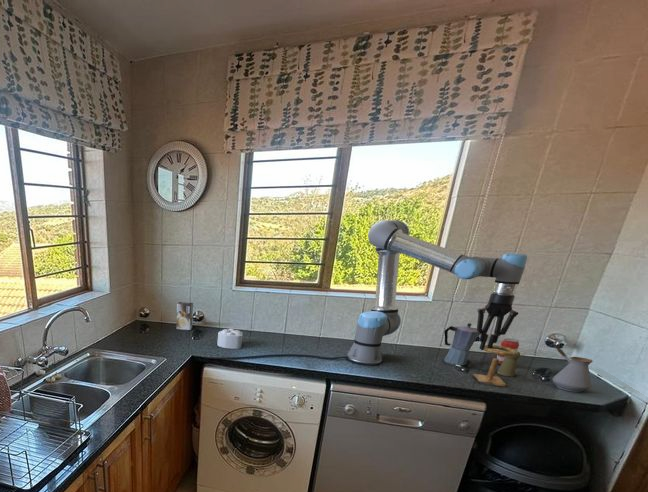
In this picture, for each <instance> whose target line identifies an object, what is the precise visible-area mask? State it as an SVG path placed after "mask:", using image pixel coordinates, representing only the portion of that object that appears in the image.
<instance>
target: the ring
mask: <svg viewBox="0 0 648 492" xmlns="http://www.w3.org/2000/svg"><path fill="white" fill-rule="evenodd" d="M487 346H488V344H485V347H484V350H483V351H485V352H487V353H489V354H495V355H497V354H499V355H506V356H513V355H515V354H517V351H518V350H517V351H515V350H514V349H511V348H508V347H503V346H501V345H495V344H493V346H492V349H491V348H488V347H487ZM499 350H503V351H499ZM506 351H507V352H506Z"/></svg>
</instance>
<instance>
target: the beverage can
mask: <svg viewBox="0 0 648 492" xmlns="http://www.w3.org/2000/svg"><path fill="white" fill-rule="evenodd" d="M519 341H520V340H518V339H515V338H509V337H508V338H507V337H505V338H504V339H503V340H502V341H501V343H500V346H503V347H508V348H511V349H514V350H515V351H518V349H519V346H520V343H519ZM499 351H503V350H499ZM496 355H497V356H496V357H495V358H497V359H499V361H498V364H499V365H501V364H502V362H503V360H504V359H505V355H499V354H496ZM498 364H497V365H498Z"/></svg>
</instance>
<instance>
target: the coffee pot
mask: <svg viewBox="0 0 648 492" xmlns="http://www.w3.org/2000/svg"><path fill="white" fill-rule="evenodd" d="M552 346H553V348H554V349H556V350H557V352H558V353H559V354H560V355H561V356H562V358H564V359H565V360H566V361H567V362H568V364H566V366H565V367H564V368H563V369H561V370H560V371H558V373H556V374H555V375H554V376H553V377H552V383H553V384H554V385H555V386H556V387H557V388H558V389H561V390H562V391H568V392H573V393H581V392H584V391H587V390H589V389H590V388H592V379H591V374H590V368H589V365H590V364H591V363H593V360H592V359H590V358H587V357H581V356H570V357H568V356H567V354H566V353H565V352H564V351H563V349H562V348H560V347H559V345H557V344H556V343H552V344H550V345H549V347H552Z"/></svg>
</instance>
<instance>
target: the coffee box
mask: <svg viewBox="0 0 648 492" xmlns="http://www.w3.org/2000/svg"><path fill="white" fill-rule="evenodd" d="M193 308H194V303H193V302H186V301H179V302H177V304H176V330H182V331H191V330H192V329H193V316H194V315H193V313H194V309H193Z"/></svg>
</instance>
